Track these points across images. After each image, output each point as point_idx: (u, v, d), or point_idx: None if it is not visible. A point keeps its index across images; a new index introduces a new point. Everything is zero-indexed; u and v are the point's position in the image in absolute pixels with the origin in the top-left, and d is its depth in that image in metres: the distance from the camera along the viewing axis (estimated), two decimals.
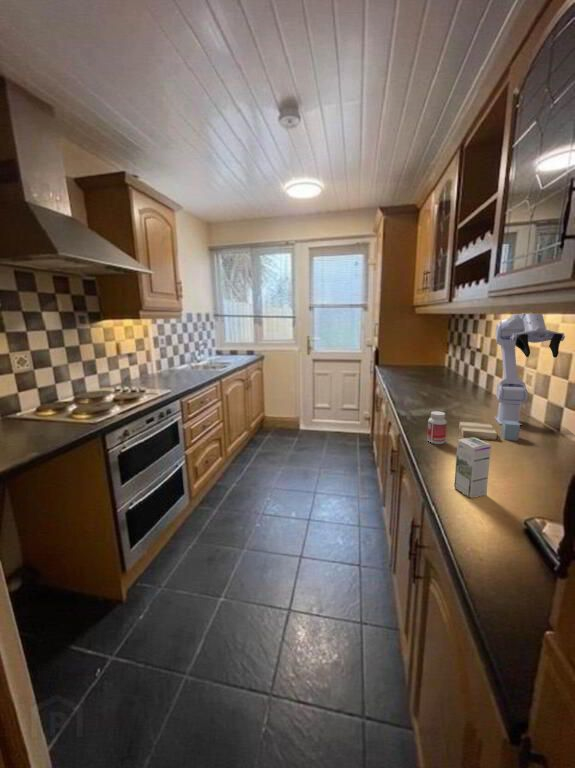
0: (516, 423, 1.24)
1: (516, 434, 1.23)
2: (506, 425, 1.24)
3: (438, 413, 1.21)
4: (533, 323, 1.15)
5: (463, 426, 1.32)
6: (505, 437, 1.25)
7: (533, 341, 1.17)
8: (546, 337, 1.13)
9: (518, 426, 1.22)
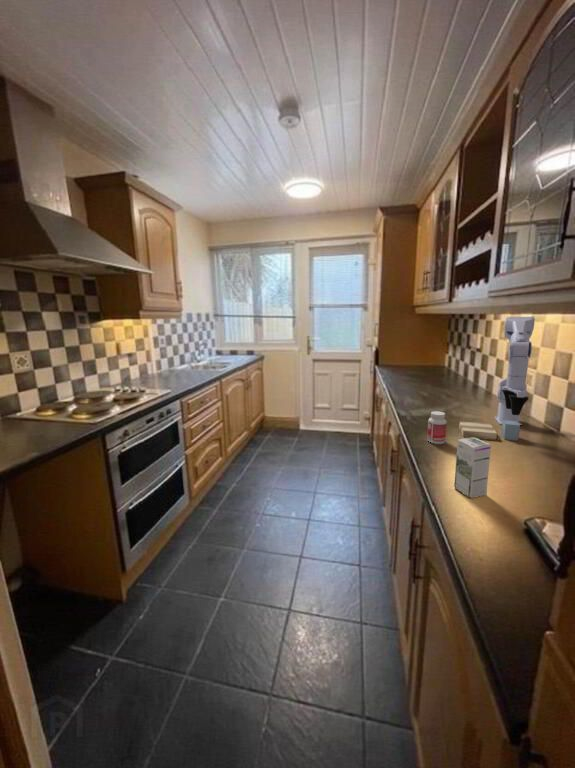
0: (516, 423, 1.24)
1: (516, 434, 1.23)
2: (506, 425, 1.24)
3: (438, 413, 1.21)
4: None
5: (463, 426, 1.32)
6: (505, 437, 1.25)
7: None
8: (515, 392, 1.20)
9: (518, 426, 1.22)
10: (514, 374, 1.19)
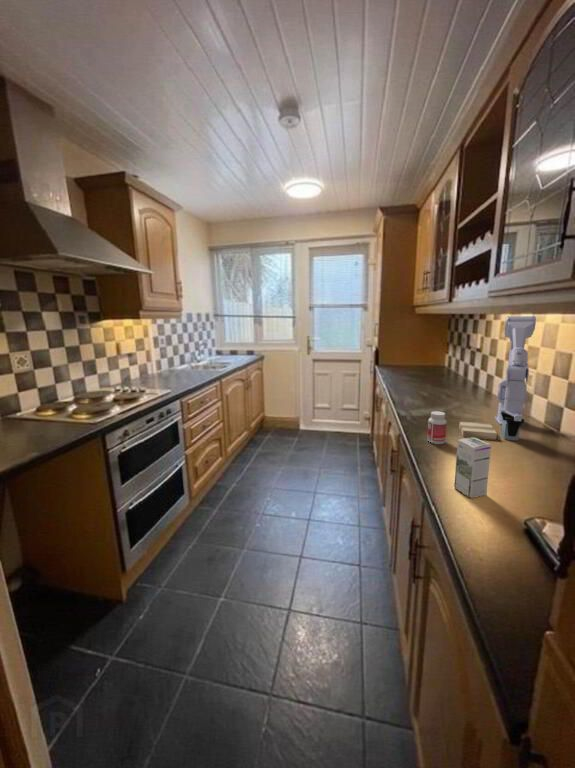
0: None
1: (516, 434, 1.23)
2: (506, 425, 1.24)
3: (438, 413, 1.21)
4: None
5: (463, 426, 1.32)
6: (505, 437, 1.25)
7: None
8: (512, 415, 1.22)
9: None
10: (511, 397, 1.21)
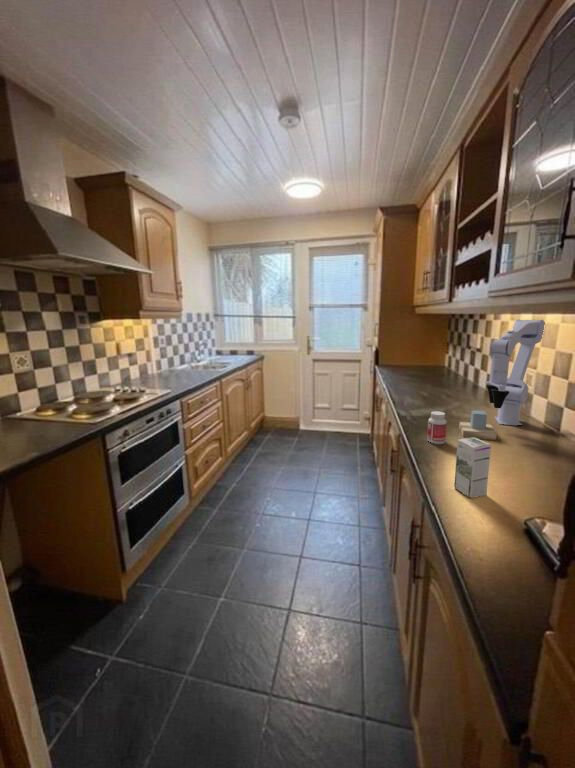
0: (483, 413, 1.29)
1: (484, 423, 1.28)
2: (474, 414, 1.28)
3: (438, 413, 1.21)
4: None
5: (463, 426, 1.32)
6: (473, 426, 1.29)
7: None
8: (497, 387, 1.28)
9: (485, 415, 1.27)
10: (493, 369, 1.28)
